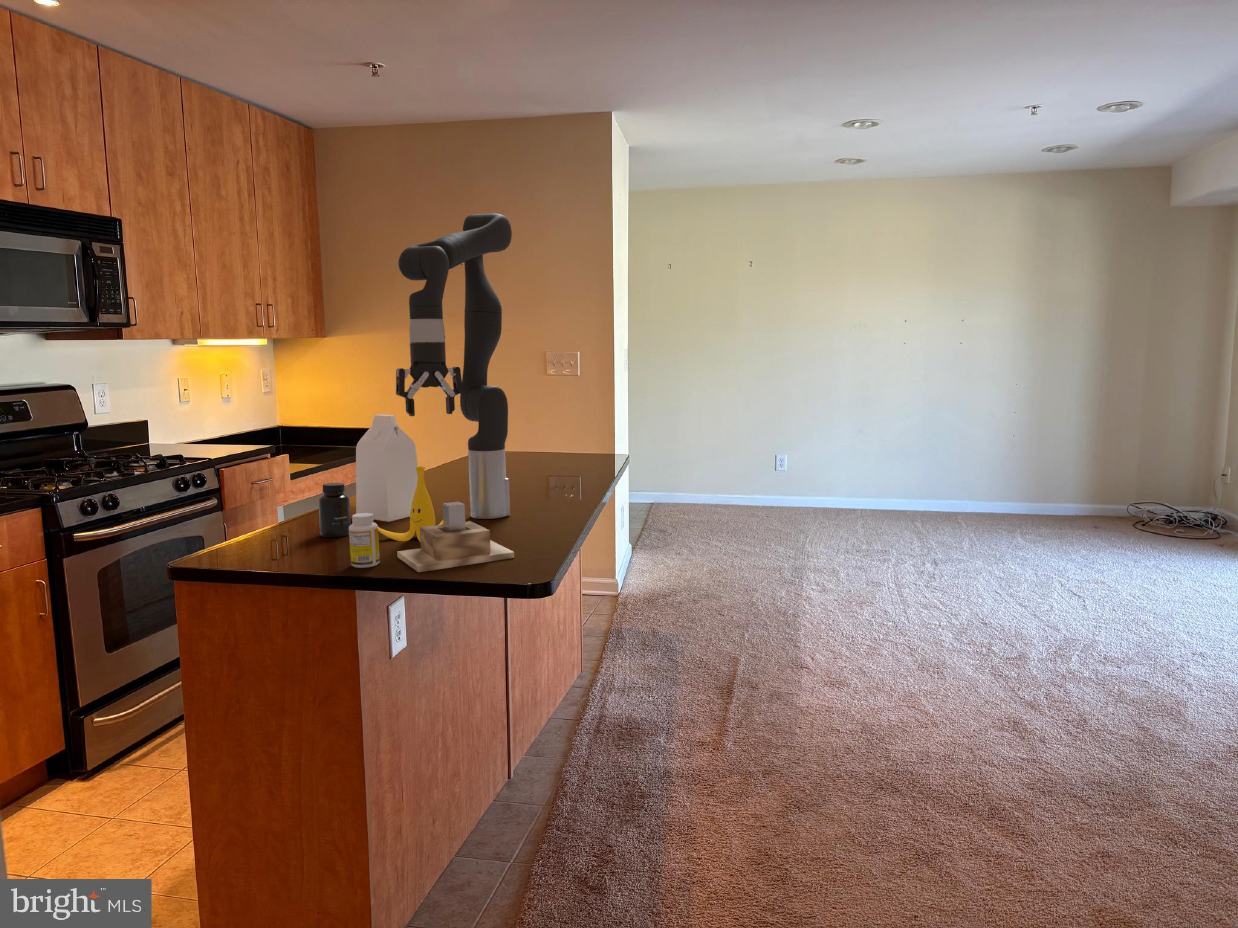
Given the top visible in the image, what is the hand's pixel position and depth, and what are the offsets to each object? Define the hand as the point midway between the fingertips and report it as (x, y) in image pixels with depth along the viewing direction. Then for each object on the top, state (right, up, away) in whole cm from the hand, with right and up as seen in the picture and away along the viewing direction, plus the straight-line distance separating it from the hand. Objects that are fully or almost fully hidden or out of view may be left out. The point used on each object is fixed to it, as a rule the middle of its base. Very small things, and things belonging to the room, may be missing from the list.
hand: (430, 414), depth 183 cm
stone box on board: (+8, -30, -12) cm, 33 cm away
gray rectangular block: (+8, -29, -12) cm, 32 cm away
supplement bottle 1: (-24, -28, +10) cm, 38 cm away
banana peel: (-2, -28, +8) cm, 29 cm away
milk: (-18, -24, +32) cm, 44 cm away
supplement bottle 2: (-9, -31, -17) cm, 37 cm away
